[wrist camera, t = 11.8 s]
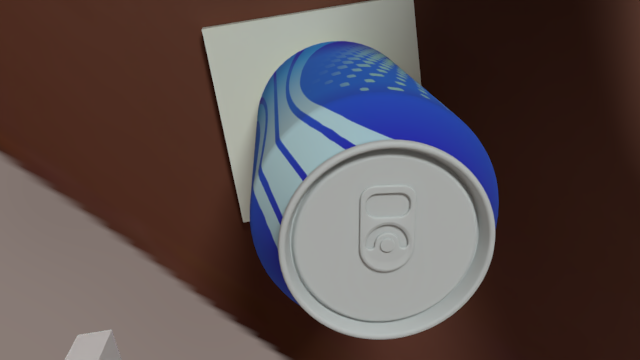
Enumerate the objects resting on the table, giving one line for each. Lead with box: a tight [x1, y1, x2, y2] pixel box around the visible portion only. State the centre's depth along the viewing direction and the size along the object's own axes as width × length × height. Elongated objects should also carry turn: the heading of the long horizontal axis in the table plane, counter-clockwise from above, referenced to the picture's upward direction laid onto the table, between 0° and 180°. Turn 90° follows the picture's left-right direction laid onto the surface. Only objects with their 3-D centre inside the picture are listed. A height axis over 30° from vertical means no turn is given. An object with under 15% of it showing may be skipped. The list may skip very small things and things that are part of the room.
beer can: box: [250, 41, 499, 340], centre depth 25 cm, size 8×8×16 cm
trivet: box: [202, 0, 421, 223], centre depth 33 cm, size 11×11×1 cm
